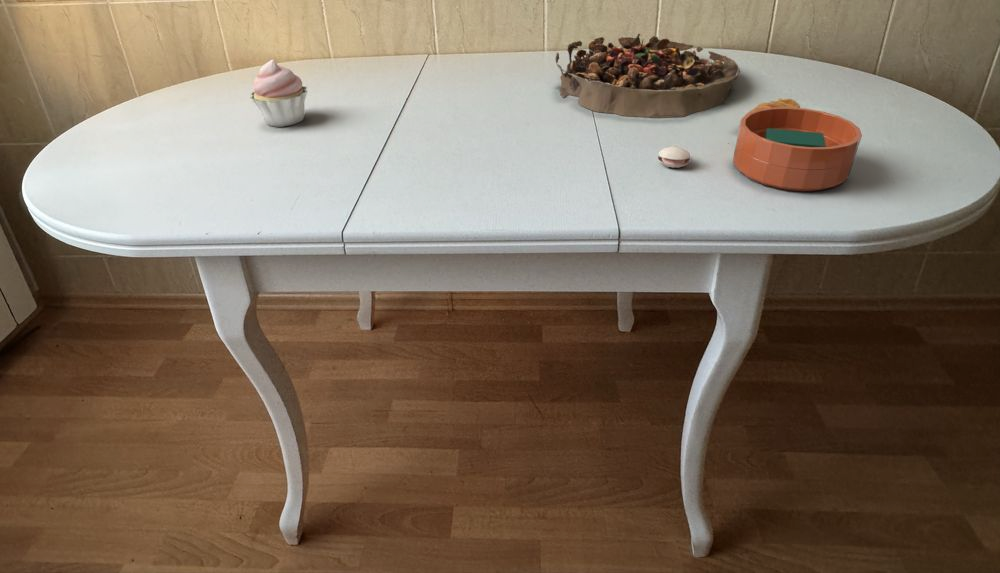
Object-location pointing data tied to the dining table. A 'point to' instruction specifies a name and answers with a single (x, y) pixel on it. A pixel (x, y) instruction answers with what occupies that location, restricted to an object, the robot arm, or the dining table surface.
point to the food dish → (646, 78)
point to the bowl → (796, 149)
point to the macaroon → (674, 157)
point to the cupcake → (279, 95)
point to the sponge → (796, 137)
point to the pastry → (777, 104)
